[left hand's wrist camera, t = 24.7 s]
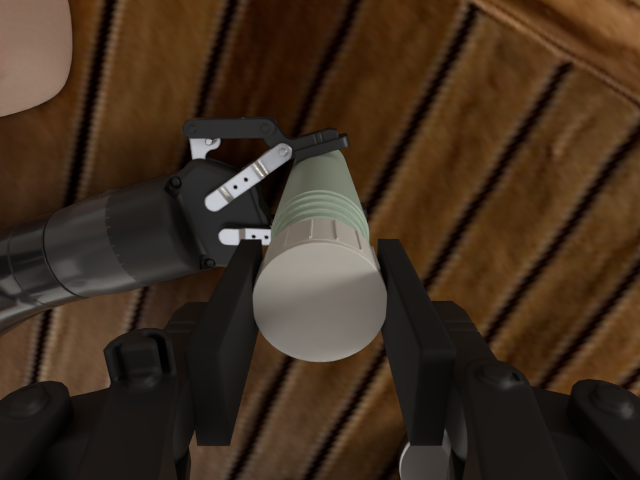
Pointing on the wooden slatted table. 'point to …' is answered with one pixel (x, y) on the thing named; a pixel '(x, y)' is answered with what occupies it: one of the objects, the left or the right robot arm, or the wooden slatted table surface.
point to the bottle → (320, 195)
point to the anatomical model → (33, 52)
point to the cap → (319, 291)
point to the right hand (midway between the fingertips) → (356, 175)
